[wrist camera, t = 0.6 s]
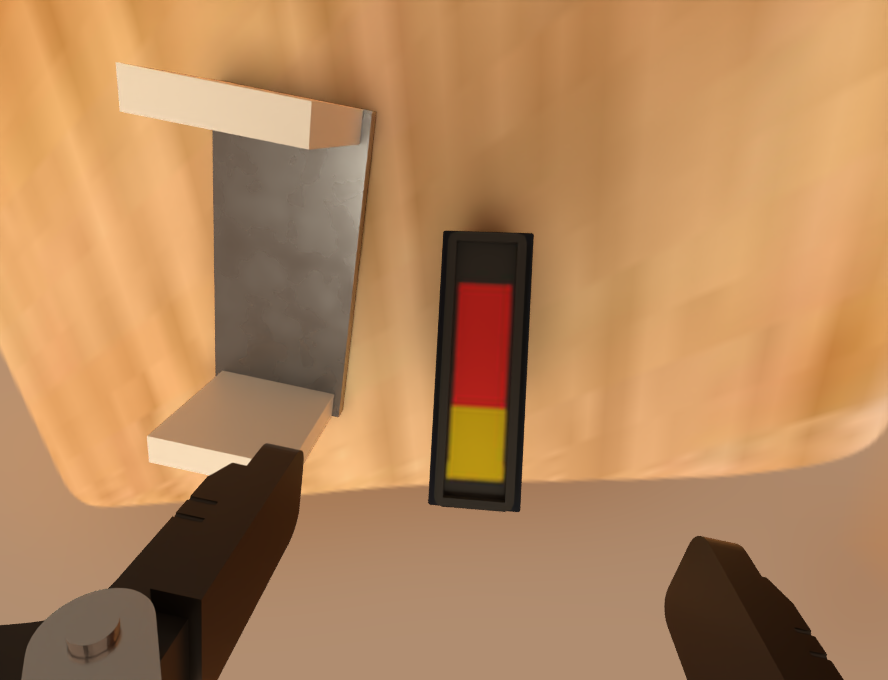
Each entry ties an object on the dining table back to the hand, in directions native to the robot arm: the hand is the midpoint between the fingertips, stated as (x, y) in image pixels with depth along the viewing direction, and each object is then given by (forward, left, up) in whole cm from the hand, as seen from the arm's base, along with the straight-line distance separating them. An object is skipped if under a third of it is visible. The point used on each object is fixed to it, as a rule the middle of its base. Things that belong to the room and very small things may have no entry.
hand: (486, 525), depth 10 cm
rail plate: (+3, -13, -22) cm, 26 cm away
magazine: (+3, 0, -22) cm, 22 cm away
